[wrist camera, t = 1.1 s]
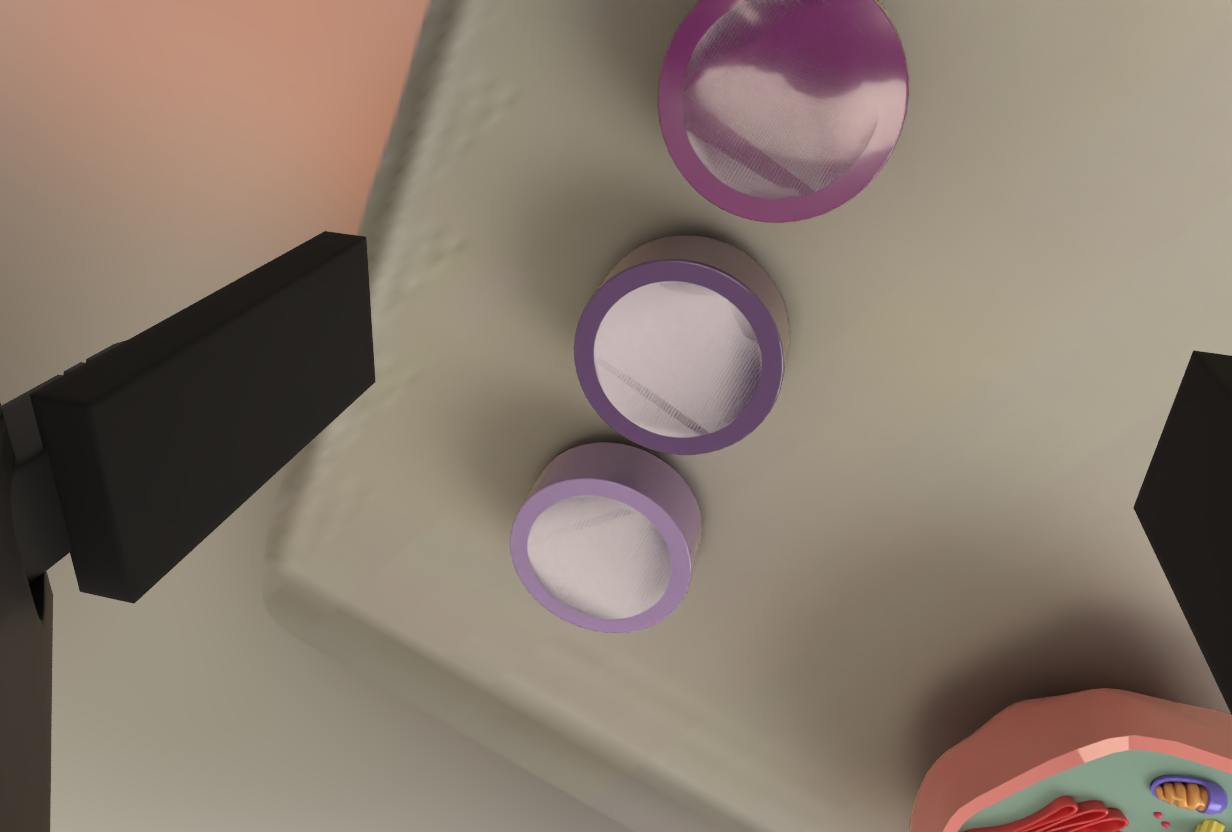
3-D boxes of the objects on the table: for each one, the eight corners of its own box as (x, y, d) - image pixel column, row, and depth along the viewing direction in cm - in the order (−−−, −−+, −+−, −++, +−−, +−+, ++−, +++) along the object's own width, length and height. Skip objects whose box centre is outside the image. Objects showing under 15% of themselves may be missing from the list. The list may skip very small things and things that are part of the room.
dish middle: (575, 369, 41) (549, 410, 37) (632, 198, 37) (608, 226, 34) (747, 438, 41) (736, 485, 37) (823, 273, 37) (819, 308, 33)
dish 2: (648, 150, 36) (626, 173, 33) (723, -74, 32) (706, -75, 29) (844, 225, 36) (843, 257, 32) (945, 8, 32) (955, 17, 28)
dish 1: (518, 541, 46) (490, 591, 42) (563, 407, 42) (536, 449, 38) (670, 604, 46) (655, 659, 42) (730, 474, 42) (719, 523, 38)
